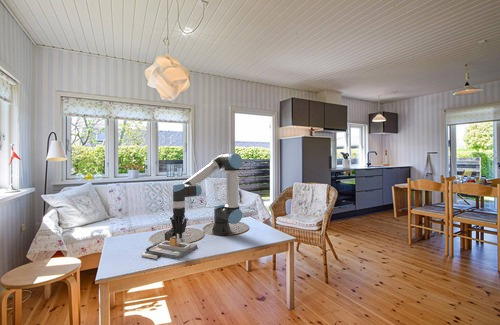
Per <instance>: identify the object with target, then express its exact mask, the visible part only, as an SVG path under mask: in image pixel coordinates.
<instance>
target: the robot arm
mask: <svg viewBox="0 0 500 325" xmlns="http://www.w3.org/2000/svg"><path fill="white" fill-rule="evenodd" d="M242 165H243V158H242V156H241V155H240V154H239V153H236V152H235V153H234V152H226V153H225V152H224V153H221V154H219V155H217V156H216V157H214V158H213V159H212V160H210V163H209V164H207V165H206V166H204V167H202V169H200V170H199V171H198V172H196V173H195V174H193V175H192V176H191V177H190V178H188V179H187V180H186V181H184V182H179V183H177V182H176V183H174V184H173V186H172V207H173V208H172V213H173V214H172V216H170V217H169V219H170V221H171V226H172V227H171V228H173V232H175V233H176V238H177V244H180V243H181V242H182V238H183V234H184V233H186V228H187V224H188V220H189V218H188V217H186V215H185V214H186V207H185V206H186V198H191V197H198V196H200V195H202V194H203V193H202V192H203V191H202V186H201V185H199V184H200V183H202V182H204V181H206V179H207V178H208V177H210V176H211V175H212V174H214V173H215V172H218V171H220V170H221V169H224V172H225V174H226V180H225V181H226V185H225V186H226V187H225V188H226V189H225V190H226V191H225V192H226V195H225V196H226V198H225V199H226V203H219V204H215V205H214V206H213V207H214V209H213V212H214V214H213V216H214V217H213V218H214V219H213V221H214V222H213V226H212V230H211V232H212V234H213V235H215V236H224V235H225V236H227V235H230V234H231V233H230V232H232V231H231V230H232V229H231V226H230V224H231V225H232V224H233V225H237V224H239V223H240V221H241V220H242V218H243V211H242V210H241V209H240V205H239V203H238V194H239V192H238V191H239V190H238V181H239V180H238V173H239V172H240V169H241V167H242Z"/></svg>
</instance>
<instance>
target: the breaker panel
mask: <svg viewBox="0 0 500 325" xmlns="http://www.w3.org/2000/svg"><path fill="white" fill-rule="evenodd" d="M161 242H162V243H160V244H158V247H156V248H154V249H152V250H150V251H149V252H152V253H157V254H160V255H161V256H160V257H165V258H171V259H175V260H176V259H177V260H179V259H181V258H183V257H184V256H186V255H187V254H189V253H190V252H192V251H194V250H196V249H197V248H198V244H197V243H191V242H184V241H181V243H180V244H179V247H176V246H170V241H165V240H164V241H161Z"/></svg>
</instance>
